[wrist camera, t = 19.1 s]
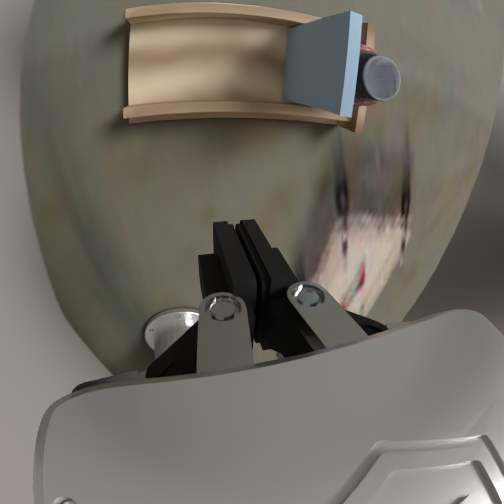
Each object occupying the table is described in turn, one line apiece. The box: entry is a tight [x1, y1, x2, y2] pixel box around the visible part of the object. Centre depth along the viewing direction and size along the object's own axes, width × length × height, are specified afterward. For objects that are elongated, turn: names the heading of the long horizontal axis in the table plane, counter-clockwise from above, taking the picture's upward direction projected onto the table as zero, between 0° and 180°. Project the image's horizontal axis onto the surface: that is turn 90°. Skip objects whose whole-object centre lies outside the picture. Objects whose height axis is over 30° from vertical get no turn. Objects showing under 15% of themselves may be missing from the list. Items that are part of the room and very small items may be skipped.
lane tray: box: [123, 3, 375, 134], centre depth 22 cm, size 13×24×5 cm, turn 86°
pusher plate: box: [282, 11, 362, 117], centre depth 19 cm, size 8×1×12 cm, turn 176°
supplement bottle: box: [353, 44, 401, 106], centre depth 20 cm, size 6×6×11 cm
